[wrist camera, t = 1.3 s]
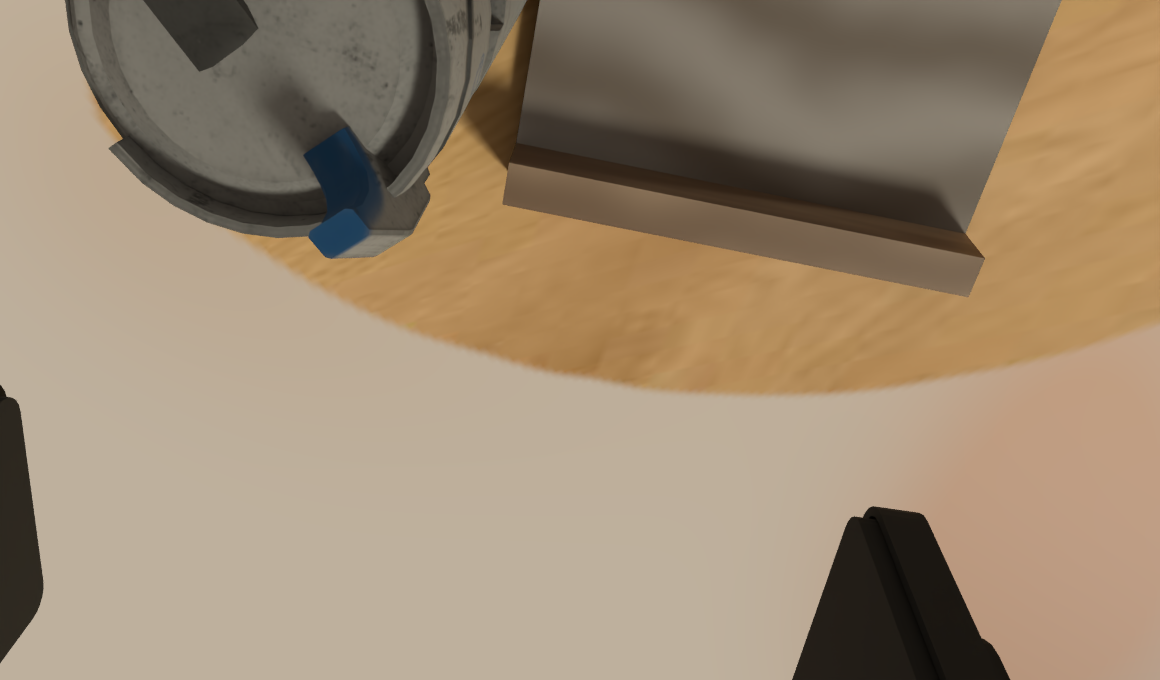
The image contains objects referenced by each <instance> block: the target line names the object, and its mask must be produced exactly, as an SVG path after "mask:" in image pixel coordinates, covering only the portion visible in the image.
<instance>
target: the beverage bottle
mask: <svg viewBox="0 0 1160 680" xmlns="http://www.w3.org/2000/svg"><path fill="white" fill-rule="evenodd" d="M526 1H527V0H65V2H66V11H67V18H68V26H69V32H70V35H71V39H72V42H73V45H74V48H75V51H76V55H77V58H78V61H79V64H80V67H81V70H82V72H83V74H84V76H85V78H86V80H87V82H88V84H89V86H90V88H91V90H92V92H93V94H94V96H95V98H96V100H97V102H98V104H99V106H100V108H101V109H102V110H103V112H104V113H105V114H106V116H107V117H108V119H109V120H110V121H111V123H112V124H113V125H114V127H115V128H116V129H117V131H118V132H119V134H120V135H121V136H122V138H123V139H122V140H120V141H118V142H117V143H115V144H114V145H112V146H111V147H110V148H109V149H110V150H111V152H112V153H113V154H114V155H115V156H116V157H117V158H118V159H119V160H120V161H121V162H122V163H123V164H124V165H125V166H126V167H127V168H128V169H129V170H130V171H131V172H132V173H133V174H134V175H135V176H136V177H137V178H138V179H139V180H140V181H141V182H142V183H143V184H144V185H146V186H147V187H149V188H150V189H151V190H153V191H154V192H155V193H157V194H158V195H160V196H161V197H163V198H164V199H165V200H167V201H168V202H169V203H171V204H172V205H174V206H176V207H178V208H180V209H182V210H184V211H186V212H188V213H190V214H192V215H194V216H196V217H197V218H199V219H201V220H204V221H206V222H208V223H211V224H214V225H217V226H220V227H224V228H227V229H230V230H233V231H237V232H240V233H244V234H251V235H259V236H267V237H275V238H285V237H303V236H309V239H310V240H311V241H312V242H313V243H314V244H315V246H316V247H317V248H318V249H319V250H320V252H321V253H322V254H323V255H324V256H325V257H327V258H330V259H335V258H361V257H374V256H377V255H379V254H380V253H382V252H384V251H385V250H387V249H388V248H390V247H392V246H393V245H395V244H397V243H398V242H400V241H401V240H403V239H405V238H406V237H408V236H410V235H411V234H412V233H413V231H414V229H415V228H416V226H417V224H418V222H419V220H420V218H421V216H422V214H423V212H424V210H425V209H426V207H427V205H428V203H429V201H430V194H429V192H428V190H427V188H426V186H425V184H424V183H425V181H426V180H427V178H428V176H429V175H430V174H429V170H428V166H429V165H430V163H431V162H432V161H433V160H434V159H435V157H436V156H437V155H438V154H439V152H440V151H441V150H442V149H443V147H444V146H445V144H446V142H447V140H448V139H449V137H450V135H451V133H452V132H453V130H454V128H455V126H456V125H457V123H458V121H459V119H460V118H461V116H462V114H463V112H464V111H465V109H466V107H467V105H468V103H469V101H470V99H471V97H472V95H473V94H474V92H475V91H476V90H477V89H478V87H479V85H480V83H481V82H482V80H483V78H484V76H485V75H486V73H487V71H488V69H489V67H490V66H491V64H492V62H493V60H494V59H495V57H496V55H497V53H498V52H499V50H500V48H501V46H502V45H503V43H504V41H505V39H506V38H507V36H508V34H509V32H510V31H511V29H512V27H513V25H514V23H515V22H516V20H517V18H518V16H519V15H520V13H521V11H522V9H523V7H524V5H525V3H526Z"/></svg>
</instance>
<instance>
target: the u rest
mask: <svg viewBox="0 0 1160 680" xmlns="http://www.w3.org/2000/svg"><path fill="white" fill-rule="evenodd" d="M1060 3H1061V0H540V3H539V9H538V15H537V21H536V27H535V33H534V39H533V45H532V51H531V57H530V63H529V69H528V75H527V82H526V88H525V94H524V100H523V106H522V112H521V118H520V124H519V130H518V136H517V142H516V145H515V148H514V151H513V153H512V156H511V159H510V162H509V167H508V173H507V179H506V185H505V191H504V198H503V205H508V206H513V207H518V208H523V209H528V210H533V211H538V212H543V213H548V214H553V215H558V216H563V217H568V218H573V219H578V220H583V221H588V222H593V223H598V224H603V225H608V226H613V227H618V228H623V229H628V230H633V231H638V232H643V233H649V234H654V235H659V236H664V237H669V238H674V239H679V240H684V241H689V242H694V243H699V244H704V245H709V246H714V247H719V248H724V249H729V250H734V251H739V252H744V253H749V254H754V255H759V256H764V257H769V258H774V259H779V260H784V261H789V262H794V263H799V264H804V265H809V266H814V267H819V268H824V269H829V270H834V271H839V272H844V273H849V274H854V275H859V276H864V277H869V278H874V279H879V280H884V281H889V282H894V283H899V284H904V285H909V286H915V287H920V288H925V289H930V290H935V291H940V292H945V293H950V294H955V295H960V296H965V297H969V295H970V292H971V290H972V288H973V285H974V283H975V281H976V278H977V276H978V274H979V271H980V269H981V267H982V264H983V262H984V260H985V258H984V257H983V255H982V254H981V253H980V252H979V250H978V249H977V248H976V247H975V245H974V244H973V243H972V242H971V240H970V239H969V238H968V236H967V235H966V234H965V233H966V231H967V228H968V226H969V223H970V221H971V219H972V216H973V214H974V211H975V209H976V206H977V204H978V202H979V199H980V197H981V194H982V192H983V189H984V187H985V185H986V182H987V180H988V177H989V175H990V172H991V170H992V168H993V165H994V163H995V160H996V158H997V155H998V153H999V151H1000V148H1001V146H1002V143H1003V141H1004V138H1005V136H1006V134H1007V131H1008V129H1009V126H1010V124H1011V122H1012V119H1013V117H1014V114H1015V112H1016V109H1017V107H1018V105H1019V102H1020V100H1021V97H1022V95H1023V92H1024V90H1025V88H1026V85H1027V83H1028V80H1029V78H1030V75H1031V73H1032V71H1033V68H1034V66H1035V63H1036V61H1037V58H1038V56H1039V54H1040V51H1041V49H1042V46H1043V44H1044V41H1045V39H1046V37H1047V34H1048V32H1049V29H1050V27H1051V24H1052V22H1053V20H1054V17H1055V15H1056V12H1057V10H1058V7H1059V5H1060Z"/></svg>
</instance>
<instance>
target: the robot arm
mask: <svg viewBox="0 0 1160 680" xmlns="http://www.w3.org/2000/svg"><path fill="white" fill-rule="evenodd" d="M42 594H43V576H42V568H41V561H40V553H39V546H38V539H37V531H36V524H35V516H34V509H33V501H32V494H31V486H30V479H29V472H28V464H27V457H26V449H25V442H24V434H23V427H22V420H21V412H20V408H19V404H18V403H17V401H16V400H15V399H13V398H10V397H6V394H5V391H4V389H3V388H2V386H1V385H0V663H1V661H2V660H3V659H4V657H5V656H6V654H7V653H8V652H9V650H10V649H11V648H12V646H13V645H14V644H15V642H16V641H17V639H18V638H19V637H20V635H21V634H22V633H23V631H24V630H25V629H26V627H27V626H28V624H29V623H30V622H31V620H32V619H33V617H34V616H35V614H36V612H37V610H38V608H39V605H40V602H41V599H42ZM792 680H1010V678H1009V676H1008V674H1007V672H1006V670H1005V668H1004V666H1003V664H1002V661H1001V659H1000V657H999V655H998V654H997V652H996V651H995V649H994V648H993V646H992V645H991V644H990V643H988V642H987V641H986V640H984V639H982V638H981V636H980V635H979V632H978V630H977V628H976V625H975V623H974V621H973V619H972V617H971V615H970V612H969V610H968V608H967V606H966V604H965V602H964V599H963V598H962V595H961V593H960V591H959V589H958V587H957V584H956V582H955V580H954V578H953V576H952V574H951V571H950V569H949V567H948V565H947V563H946V561H945V558H944V556H943V554H942V552H941V550H940V547H939V545H938V543H937V541H936V539H935V537H934V534H933V532H932V530H931V528H930V526H929V523H928V521H927V520H926V518H925V517H924V515H922V514H920V513H916V512H909V511H902V510H895V509H888V508H881V507H874V506H873V507H870V508H869V509H868V510H867V511H866V513H865V514H864V516H863V518H861V517H851V518H850V520H849V521H848V523H847V525H846V527H845V530H844V533H843V536H842V539H841V542H840V545H839V548H838V550H837V553H836V556H835V559H834V562H833V565H832V568H831V570H830V573H829V576H828V579H827V582H826V585H825V587H824V590H823V593H822V596H821V599H820V602H819V605H818V607H817V610H816V614H815V616H814V619H813V622H812V625H811V627H810V630H809V633H808V636H807V639H806V642H805V645H804V647H803V651H802V653H801V656H800V659H799V662H798V665H797V667H796V671H795V673H794V676H793V679H792Z"/></svg>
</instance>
